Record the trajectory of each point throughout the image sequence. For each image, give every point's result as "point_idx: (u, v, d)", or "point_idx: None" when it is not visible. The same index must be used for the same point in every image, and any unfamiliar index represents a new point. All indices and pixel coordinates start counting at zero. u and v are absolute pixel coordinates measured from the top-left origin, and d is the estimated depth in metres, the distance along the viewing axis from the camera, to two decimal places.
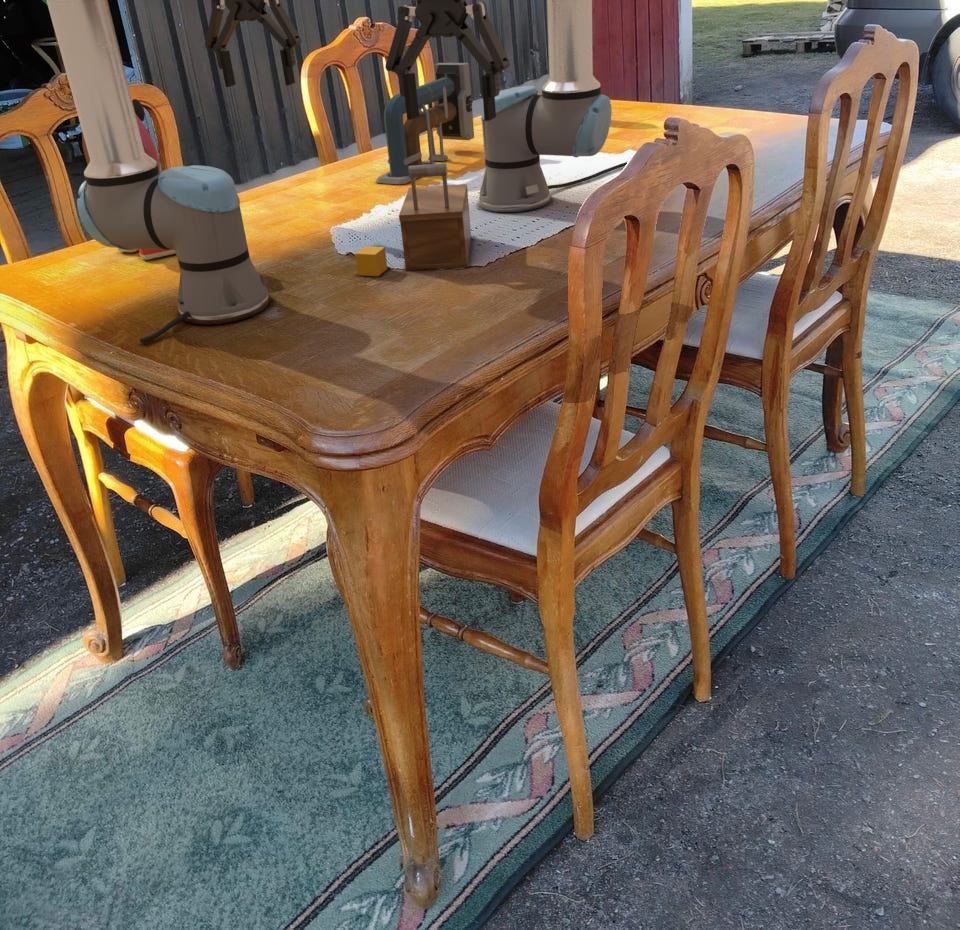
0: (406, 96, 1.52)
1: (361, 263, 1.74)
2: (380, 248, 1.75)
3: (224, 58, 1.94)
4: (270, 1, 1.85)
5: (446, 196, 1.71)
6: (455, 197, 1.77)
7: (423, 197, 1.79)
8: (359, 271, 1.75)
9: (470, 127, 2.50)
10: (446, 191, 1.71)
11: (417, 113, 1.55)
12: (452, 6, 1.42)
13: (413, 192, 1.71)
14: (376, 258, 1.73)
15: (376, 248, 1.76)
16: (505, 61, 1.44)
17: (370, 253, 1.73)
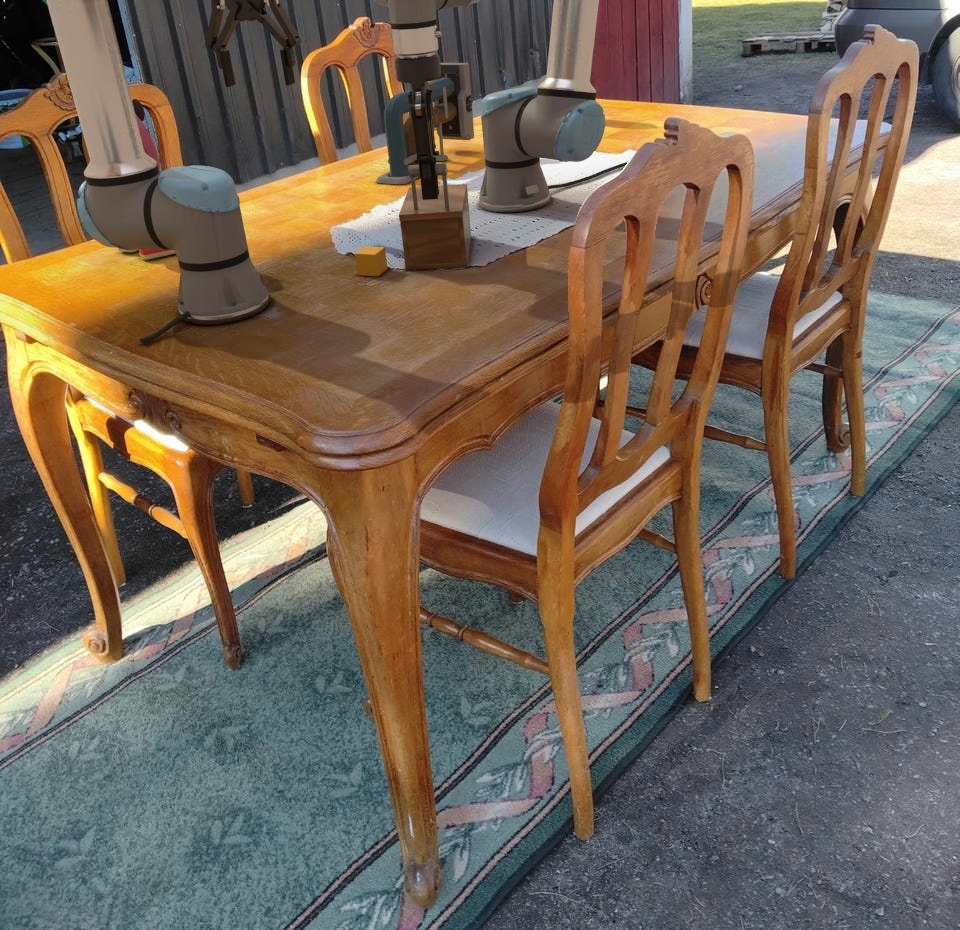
0: (435, 178, 1.69)
1: (361, 263, 1.74)
2: (380, 248, 1.75)
3: (224, 58, 1.94)
4: (270, 1, 1.85)
5: (446, 196, 1.71)
6: (455, 197, 1.77)
7: None
8: (359, 271, 1.75)
9: (470, 127, 2.50)
10: (446, 191, 1.71)
11: None
12: (427, 82, 1.65)
13: (413, 192, 1.71)
14: (376, 258, 1.73)
15: (376, 248, 1.76)
16: None
17: (370, 253, 1.73)
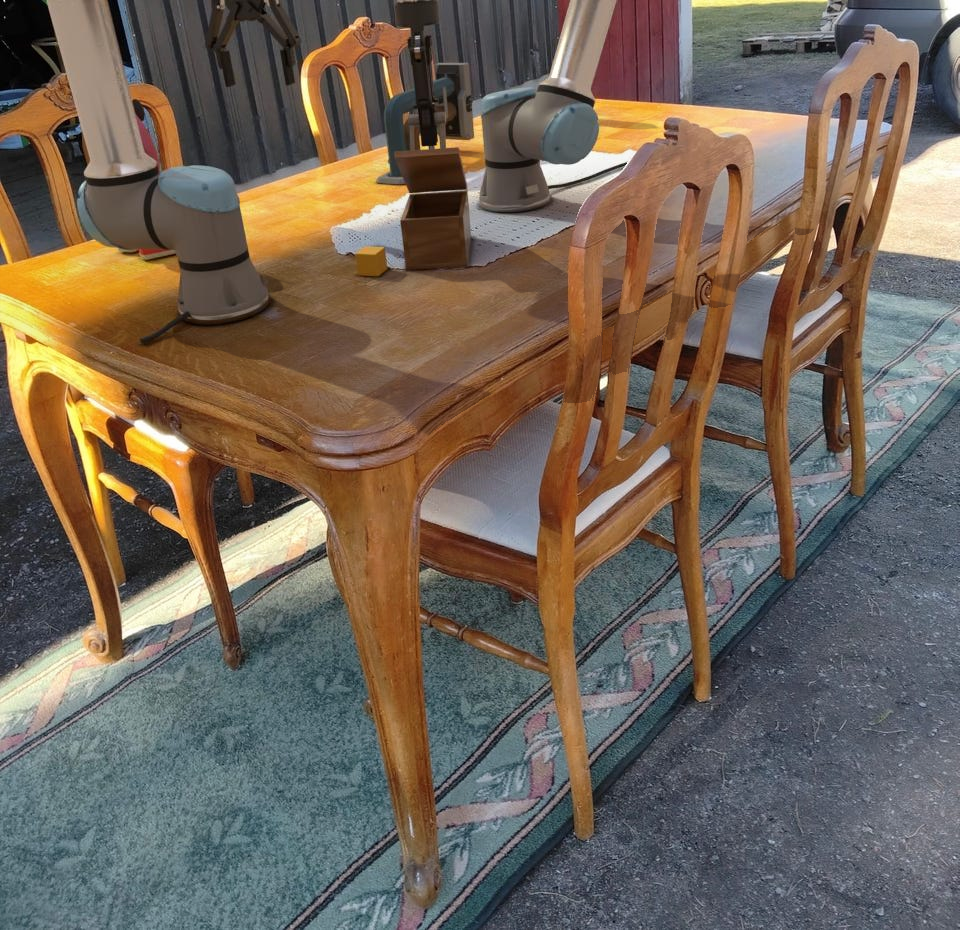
0: (434, 124, 1.70)
1: (361, 263, 1.74)
2: (380, 248, 1.75)
3: (224, 58, 1.94)
4: (270, 1, 1.85)
5: (443, 143, 1.71)
6: None
7: None
8: (359, 271, 1.75)
9: (470, 127, 2.50)
10: (444, 138, 1.71)
11: None
12: (426, 28, 1.67)
13: (411, 139, 1.71)
14: (376, 258, 1.73)
15: (376, 248, 1.76)
16: None
17: (370, 253, 1.73)
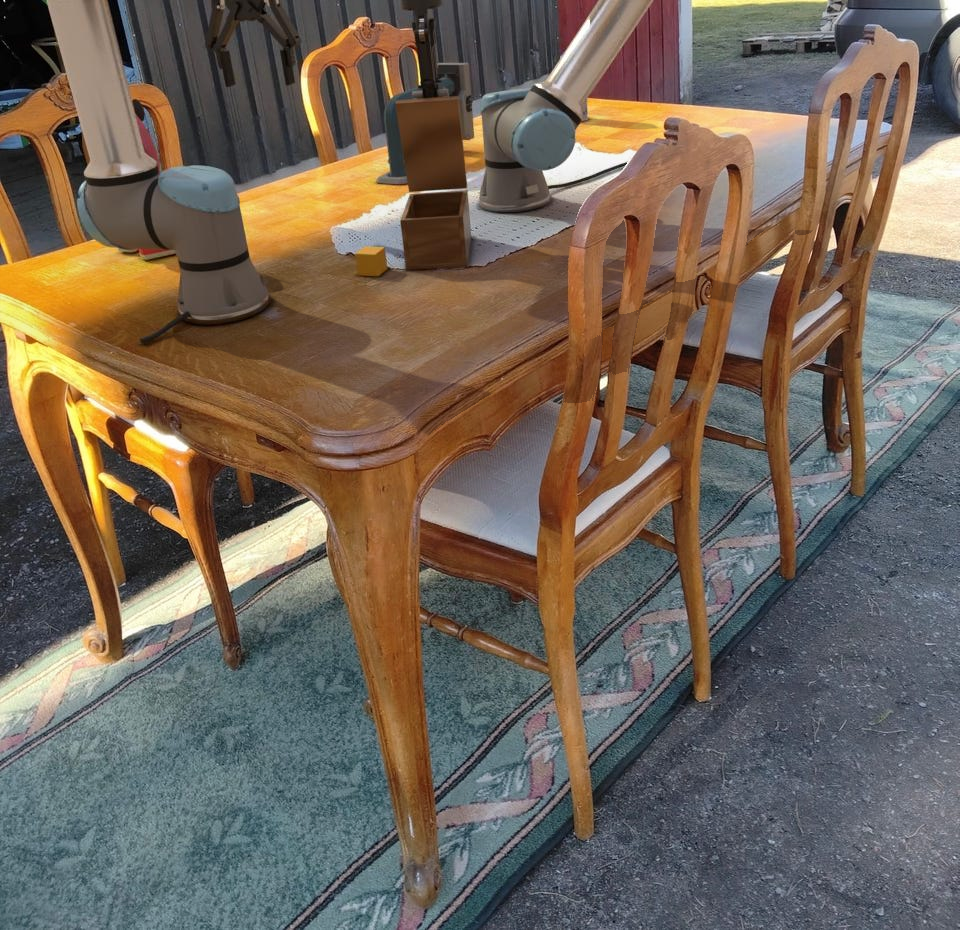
0: None
1: (361, 263, 1.74)
2: (380, 248, 1.75)
3: (224, 58, 1.94)
4: (270, 1, 1.85)
5: None
6: None
7: None
8: (359, 271, 1.75)
9: (470, 127, 2.50)
10: None
11: None
12: (430, 11, 1.75)
13: None
14: (376, 258, 1.73)
15: (376, 248, 1.76)
16: None
17: (370, 253, 1.73)
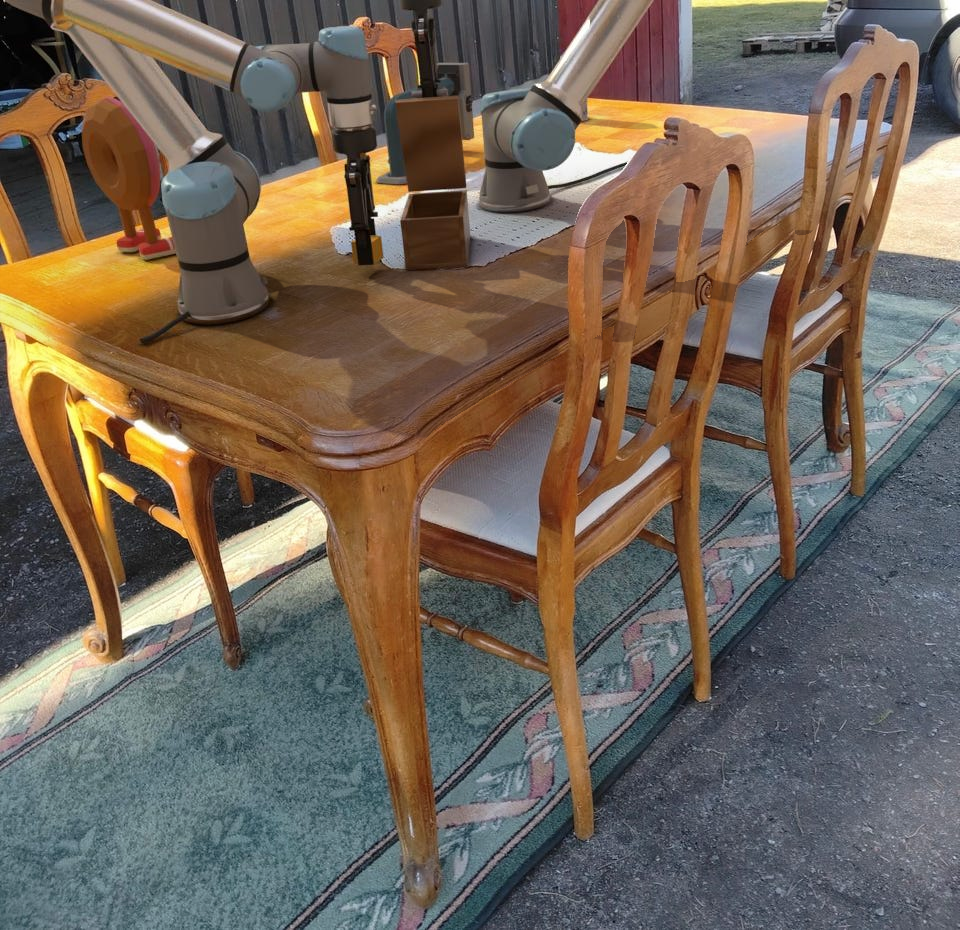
0: None
1: None
2: (376, 236, 1.74)
3: None
4: None
5: None
6: None
7: None
8: (355, 259, 1.74)
9: (470, 127, 2.50)
10: None
11: None
12: None
13: None
14: (372, 247, 1.72)
15: (372, 236, 1.74)
16: None
17: None
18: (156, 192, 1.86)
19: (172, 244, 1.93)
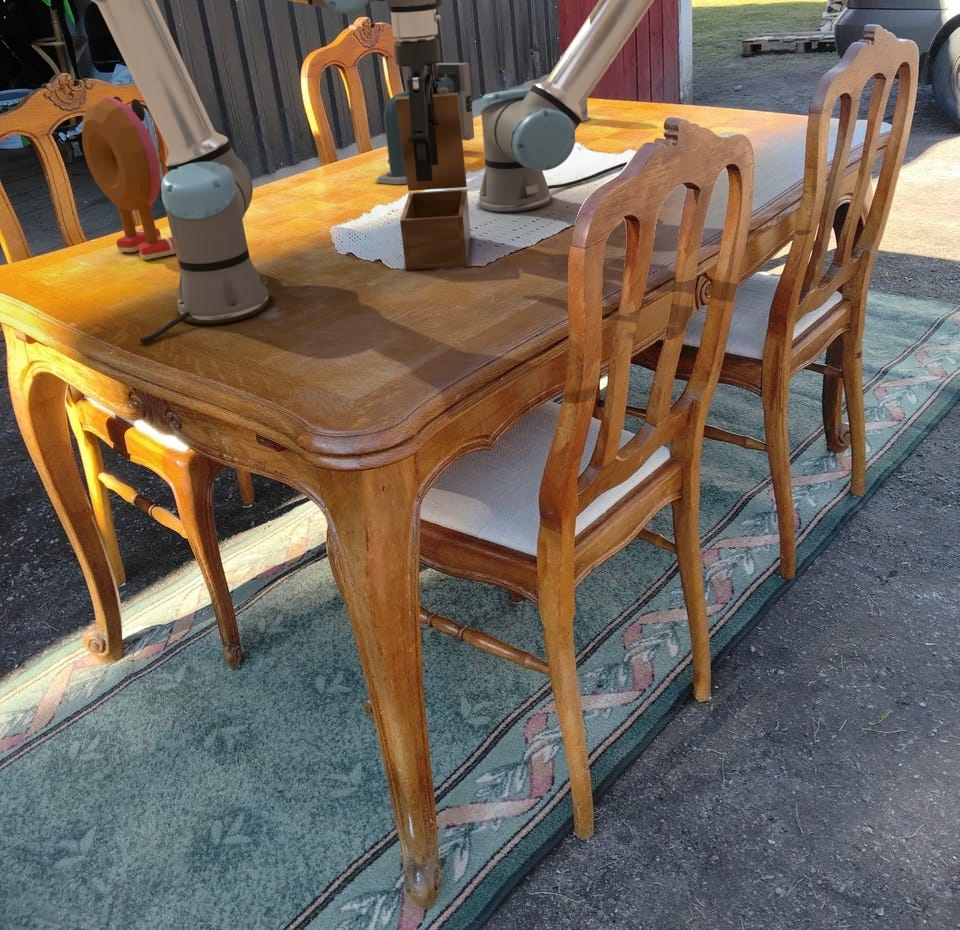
0: None
1: None
2: None
3: None
4: (409, 85, 1.58)
5: None
6: None
7: None
8: None
9: (470, 127, 2.50)
10: None
11: None
12: None
13: None
14: None
15: None
16: None
17: None
18: (156, 192, 1.86)
19: (172, 244, 1.93)
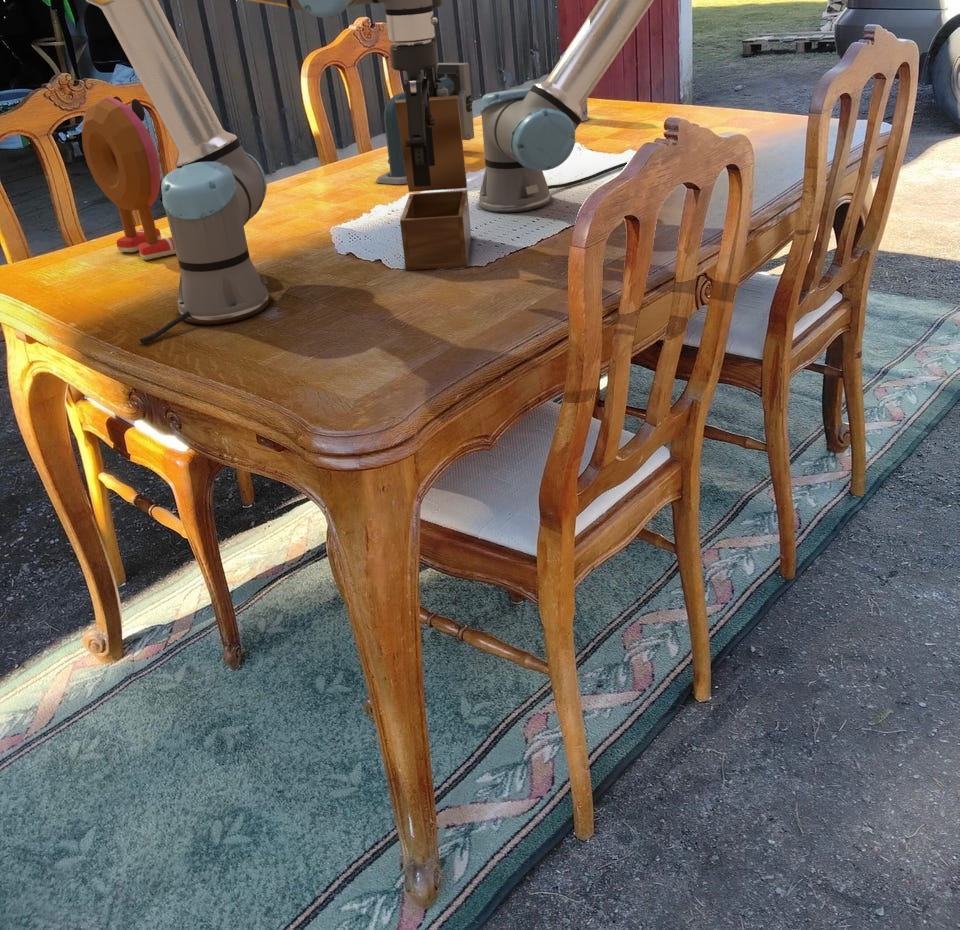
0: None
1: None
2: None
3: None
4: None
5: None
6: None
7: None
8: None
9: (470, 127, 2.50)
10: None
11: None
12: None
13: None
14: None
15: None
16: None
17: None
18: (156, 192, 1.86)
19: (172, 244, 1.93)
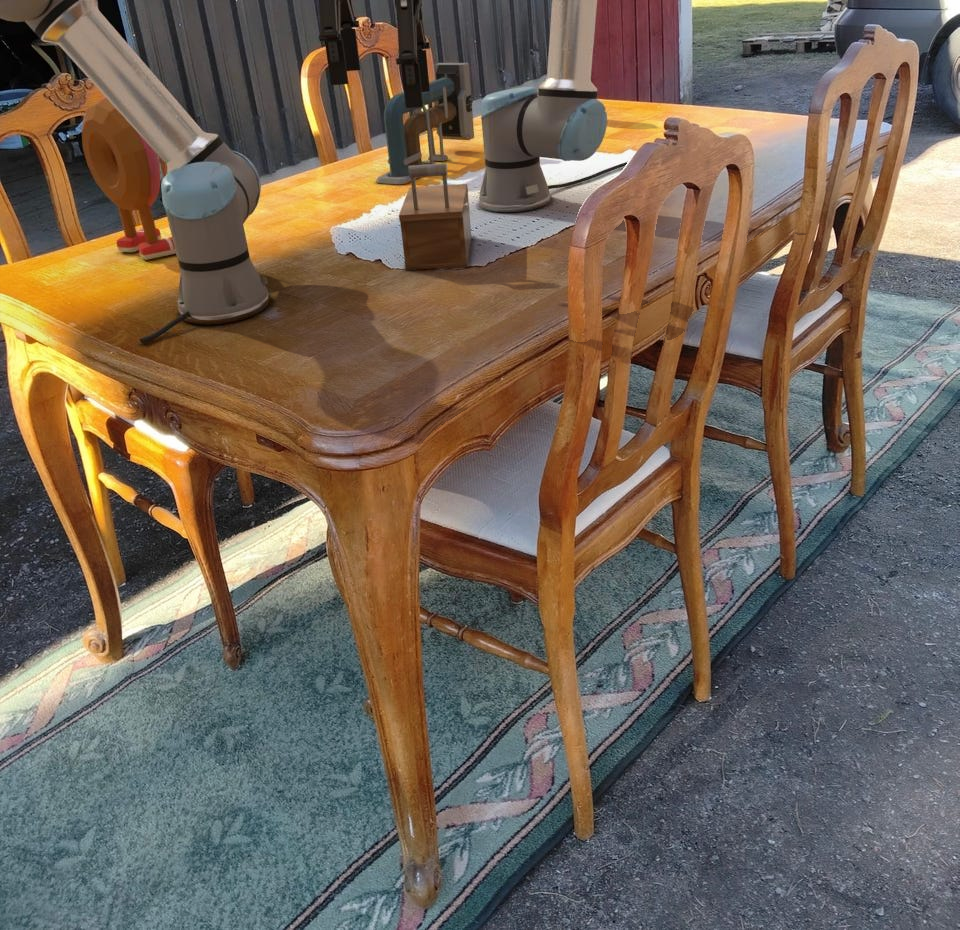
0: (420, 83, 1.52)
1: None
2: None
3: (341, 37, 1.63)
4: None
5: (446, 196, 1.71)
6: (455, 197, 1.77)
7: (423, 197, 1.79)
8: None
9: (470, 127, 2.50)
10: (446, 191, 1.71)
11: None
12: None
13: (413, 192, 1.71)
14: None
15: None
16: None
17: None
18: (156, 192, 1.86)
19: (172, 244, 1.93)
